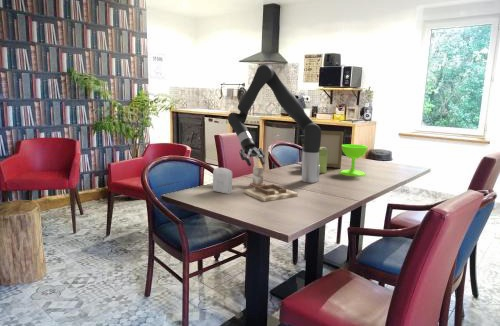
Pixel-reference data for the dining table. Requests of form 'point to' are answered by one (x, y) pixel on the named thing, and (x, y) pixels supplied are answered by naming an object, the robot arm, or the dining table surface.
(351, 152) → the wineglass
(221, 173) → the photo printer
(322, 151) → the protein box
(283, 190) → the cradle board
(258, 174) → the bobbin
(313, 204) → the dining table surface
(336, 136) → the photo frame
